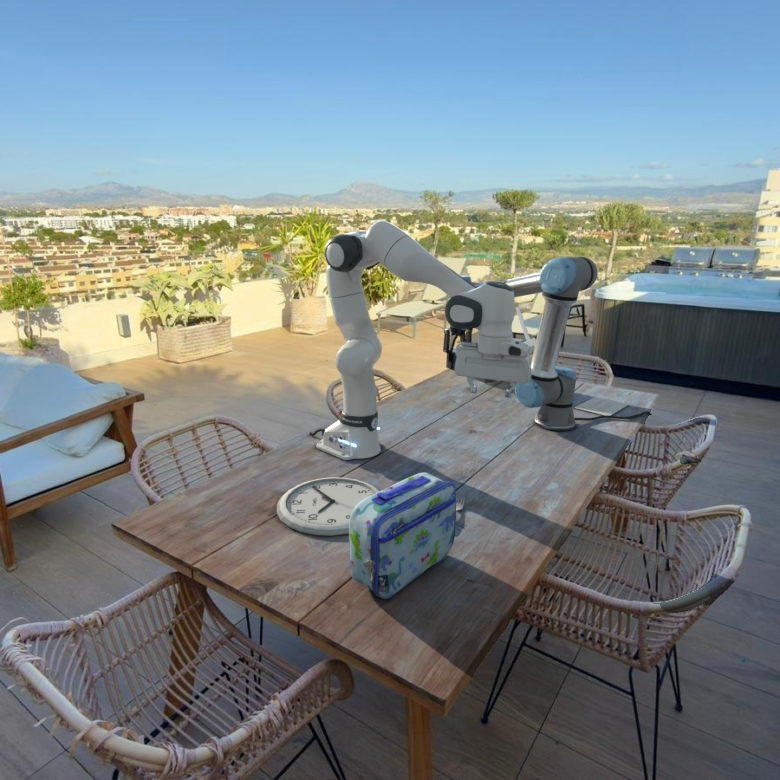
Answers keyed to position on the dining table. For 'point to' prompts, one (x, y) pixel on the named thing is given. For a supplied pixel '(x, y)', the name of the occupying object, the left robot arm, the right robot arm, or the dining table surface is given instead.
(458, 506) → the fork
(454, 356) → the bar
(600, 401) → the invitation card
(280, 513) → the wall clock
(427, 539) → the lunch box
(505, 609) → the dining table surface
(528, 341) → the white plastic object
